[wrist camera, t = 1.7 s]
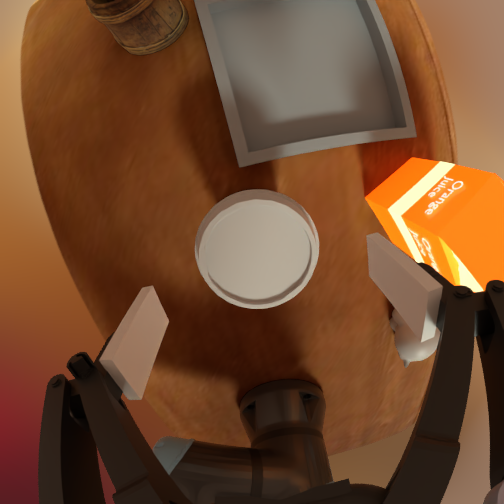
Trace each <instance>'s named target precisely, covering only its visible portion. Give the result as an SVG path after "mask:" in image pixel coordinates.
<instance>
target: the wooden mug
mask: <svg viewBox="0 0 504 504" xmlns="http://www.w3.org/2000/svg"><path fill="white" fill-rule="evenodd" d="M86 3H87V5H88V9H89V11H90V12H91V14H92V15H93V16H94V17H95V19H97V20H98V21H99V22H101V23H104V24H105V25H106V27H107V28H108V29H109V30H110V32H111V33H112V34H113V36H114V38H115V40H116V41H117V42H118V43H119V44H120V45H121V46H122V47H123V48H124V49H126V50H127V51H128V52H129V53H131V54H135V55H145V54H151V53H154V52H157V51H160V50H162V49H164V48H166V47H168V46H169V45H170V44H172V43H173V42H174V41H176V40H177V39H178V37H179V36H180V35H181V34H182V33H183V31H184V30H185V28H186V26H187V23H188V19H189V16H188V12H187V10H186V8H185V7H184V5H183V4H182V2H181V1H180V0H86Z"/></svg>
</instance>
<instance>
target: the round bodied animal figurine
mask: <svg viewBox="0 0 504 504" xmlns="http://www.w3.org/2000/svg"><path fill="white" fill-rule="evenodd" d="M390 325H391V327H392V329H393V330H394V331H395V345H396V348H397V350H398V354H399V356H400V358H401V359H402V360H403V361H404V366H405V368H406V367H407V366H408V364H409V363H410V362H411V361H423V359H426V358H427V357H429V356H430V355H431V354H433V352H434V351H435V350H436V348H437V345H438V341H439V337H440V333H441V332H440V331H439V329H438V328H437V327H436V330H435V335H434V337H433V338H431V339H428V340H426V341H424V342H420V341H419V339H418V338H417V336H416V335H415V334H414V332H413V331H412V330H411V328H410V327H409V326H408V324H407V323H406V322H405V320H404V319H403V318H402V316H401V315H400V314H399V313H398V311H397V310H396V309H394V310H393V312H392V318H391V319H390Z"/></svg>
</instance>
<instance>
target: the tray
mask: <svg viewBox="0 0 504 504" xmlns="http://www.w3.org/2000/svg"><path fill="white" fill-rule="evenodd" d="M194 2H195V6H196V9H197V13H198V16H199V20H200V24H201V27H202V31H203V34H204V38H205V42H206V45H207V49H208V52H209V56H210V60H211V63H212V67H213V71H214V74H215V78H216V82H217V85H218V89H219V93H220V97H221V100H222V104H223V108H224V111H225V115H226V119H227V123H228V126H229V130H230V134H231V138H232V141H233V145H234V149H235V153H236V157H237V160H238V164H239V168H240V167H244V166H248V165H252V164H256V163H261V162H265V161H269V160H274V159H278V158H283V157H288V156H292V155H297V154H302V153H308V152H313V151H318V150H324V149H329V148H335V147H341V146H348V145H354V144H361V143H369V142H376V141H384V140H393V139H402V138H413V137H417V135H416V129H415V124H414V119H413V114H412V109H411V105H410V100H409V96H408V92H407V88H406V84H405V81H404V77H403V74H402V70H401V67H400V64H399V61H398V57H397V54H396V51H395V49H394V46H393V43H392V40H391V37H390V35H389V32H388V30H387V27H386V25H385V22H384V20H383V17H382V15H381V13H380V11H379V8H378V6H377V4H376V2H375V0H194Z"/></svg>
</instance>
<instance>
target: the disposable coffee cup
mask: <svg viewBox="0 0 504 504" xmlns="http://www.w3.org/2000/svg"><path fill="white" fill-rule="evenodd" d="M318 255H319V239H318V233H317V231H316V228H315V225H314V222H313V221H312V219H311V217H310V216H309V214H308V213H307V212H306V211H305V210H304V208H303V207H302V206H301V205H299V204H298V203H297V202H296V201H294V200H293V199H291V198H289V197H287V196H286V195H284V194H281V193H278V192H274V191H270V190H263V189H252V190H244V191H241V192H237V193H235V194H232V195H230V196H228V197H226V198H224V199H223V200H221V201H220V202H219V203H217V204H216V205H215V206H214V207H213V208H212V209H211V210H210V211H209V212H208V213H207V215H206V216H205V217H204V219H203V221H202V223H201V224H200V226H199V229H198V232H197V236H196V241H195V256H196V261H197V264H198V268H199V270H200V272H201V275H202V276H203V278H204V279H205V281H206V282H207V283H208V285H209V286H210V288H211V289H212V290H213V291H214V292H215V293H216V294H217V295H218V296H219V297H221V298H223V299H224V300H226V301H228V302H229V303H231V304H234V305H237V306H239V307H244V308H250V309H264V308H270V307H274V306H277V305H280V304H282V303H284V302H286V301H288V300H290V299H291V298H293V297H294V296H296V295H297V294H298V293H299V292H300V291H301V290H302V289H303V288H304V287H305V285H306V284H307V283H308V281H309V279H310V278H311V276H312V274H313V271H314V269H315V266H316V263H317V259H318Z"/></svg>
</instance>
